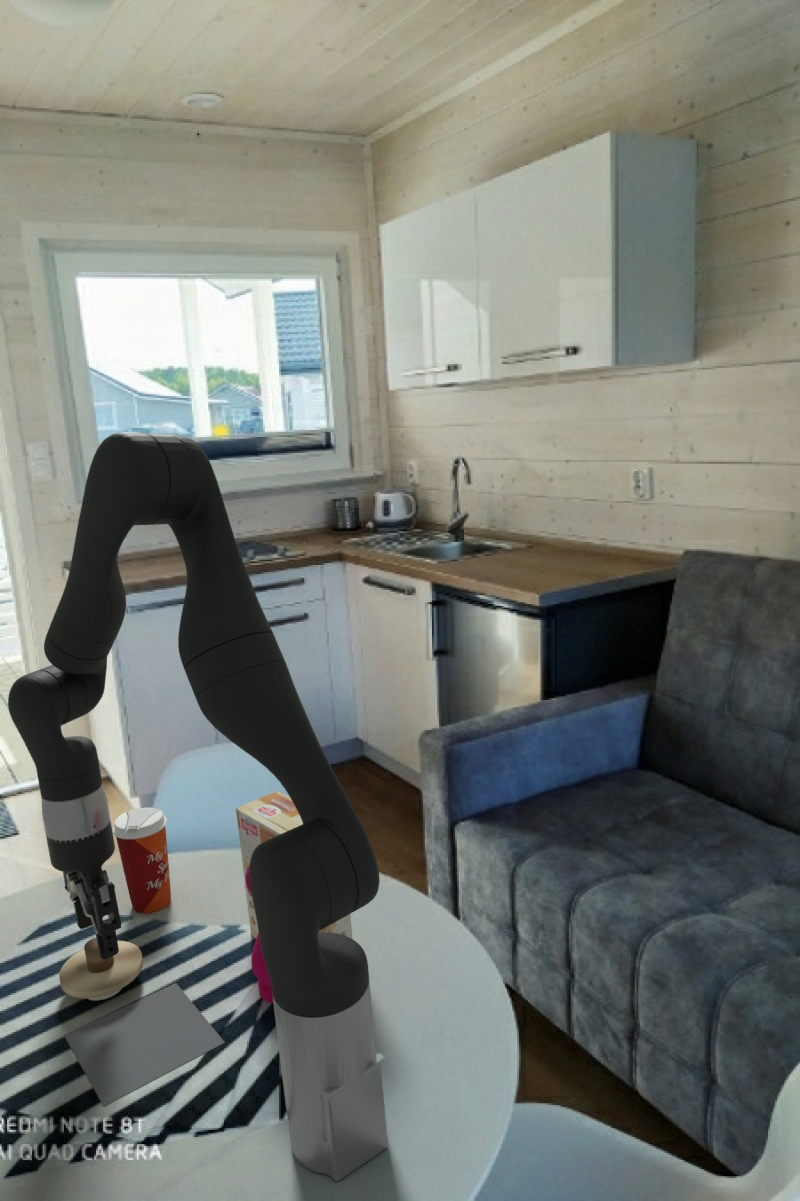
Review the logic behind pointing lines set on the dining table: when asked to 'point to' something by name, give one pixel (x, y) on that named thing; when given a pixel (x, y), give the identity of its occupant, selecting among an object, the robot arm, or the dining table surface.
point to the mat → (141, 1042)
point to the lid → (100, 970)
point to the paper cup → (144, 858)
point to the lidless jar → (104, 996)
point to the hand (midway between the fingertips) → (98, 940)
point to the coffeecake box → (263, 824)
